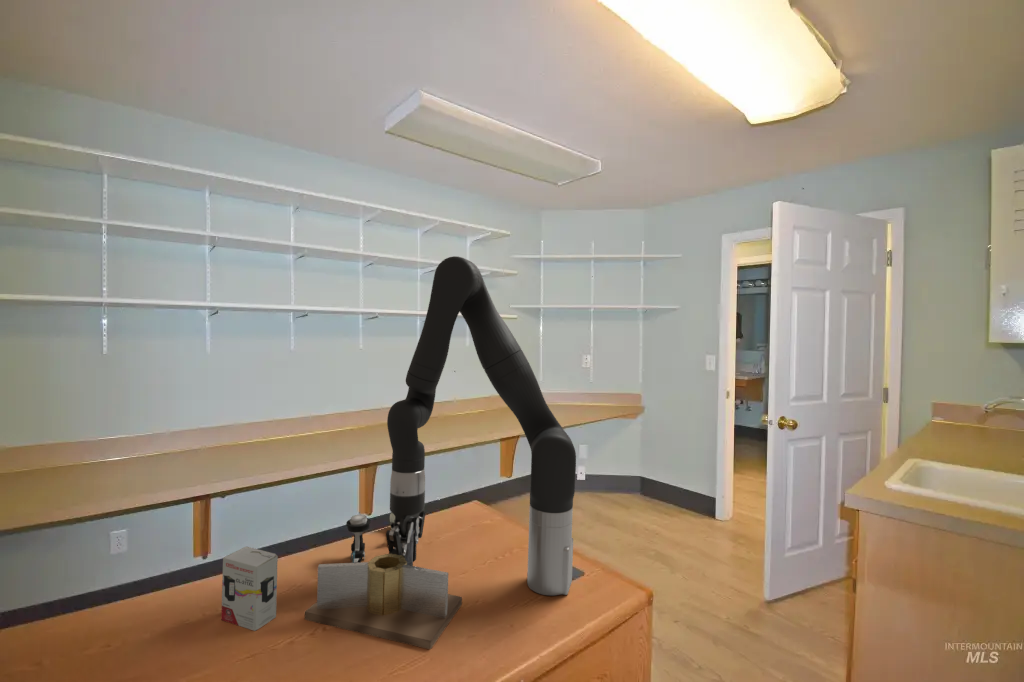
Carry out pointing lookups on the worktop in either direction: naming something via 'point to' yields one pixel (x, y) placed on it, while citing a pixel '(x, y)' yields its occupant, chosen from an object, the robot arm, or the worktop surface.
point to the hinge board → (388, 622)
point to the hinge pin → (409, 549)
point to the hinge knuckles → (383, 586)
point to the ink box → (249, 588)
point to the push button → (358, 536)
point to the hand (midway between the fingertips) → (405, 565)
